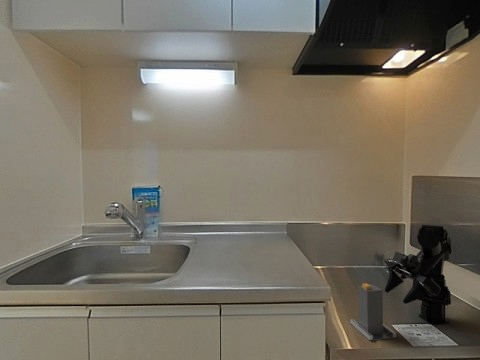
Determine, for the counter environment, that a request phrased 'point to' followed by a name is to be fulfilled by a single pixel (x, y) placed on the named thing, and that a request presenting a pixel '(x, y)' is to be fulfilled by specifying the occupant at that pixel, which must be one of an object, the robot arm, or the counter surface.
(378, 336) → the rail seat
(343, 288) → the counter surface
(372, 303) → the block
